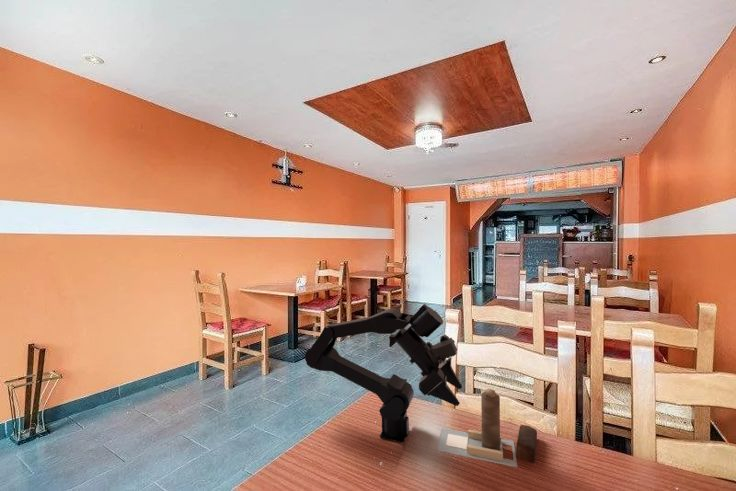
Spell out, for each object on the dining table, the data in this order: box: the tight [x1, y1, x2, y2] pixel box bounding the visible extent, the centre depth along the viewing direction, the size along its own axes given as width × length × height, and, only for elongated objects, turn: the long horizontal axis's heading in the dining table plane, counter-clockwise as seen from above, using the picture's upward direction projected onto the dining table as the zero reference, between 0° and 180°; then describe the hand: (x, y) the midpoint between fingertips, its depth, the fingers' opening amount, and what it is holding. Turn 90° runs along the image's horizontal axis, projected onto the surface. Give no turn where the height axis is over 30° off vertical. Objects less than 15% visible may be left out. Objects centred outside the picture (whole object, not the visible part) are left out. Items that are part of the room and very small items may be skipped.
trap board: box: [436, 427, 518, 468], centre depth 80 cm, size 18×10×3 cm, turn 70°
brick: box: [515, 424, 538, 464], centre depth 79 cm, size 11×4×5 cm, turn 150°
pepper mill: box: [480, 388, 501, 451], centre depth 79 cm, size 4×4×14 cm
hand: (459, 396), depth 81 cm, fingers open, 9 cm apart
